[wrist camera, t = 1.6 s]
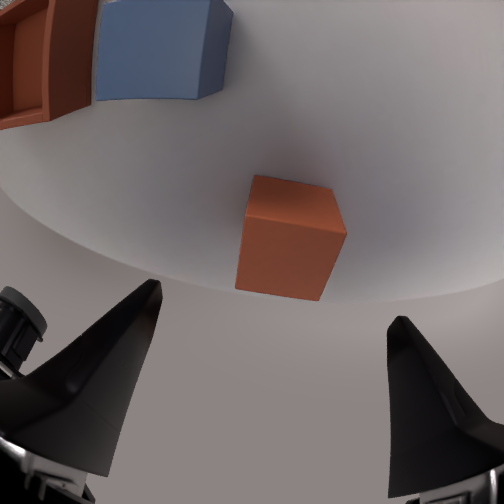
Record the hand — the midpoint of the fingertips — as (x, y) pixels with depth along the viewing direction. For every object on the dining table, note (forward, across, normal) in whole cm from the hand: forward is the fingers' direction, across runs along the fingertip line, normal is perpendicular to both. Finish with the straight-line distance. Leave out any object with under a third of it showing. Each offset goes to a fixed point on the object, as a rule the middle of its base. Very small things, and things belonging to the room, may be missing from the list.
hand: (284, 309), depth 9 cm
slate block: (+6, +6, -8) cm, 12 cm away
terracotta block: (+6, 0, 0) cm, 7 cm away
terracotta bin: (+6, +15, -9) cm, 19 cm away
